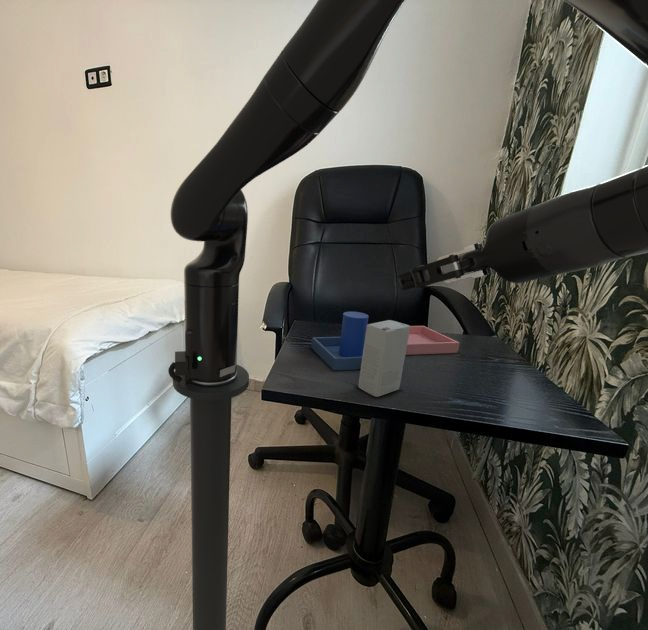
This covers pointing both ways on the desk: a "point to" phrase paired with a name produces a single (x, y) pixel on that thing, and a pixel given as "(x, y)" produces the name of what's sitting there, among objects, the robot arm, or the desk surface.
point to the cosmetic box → (383, 357)
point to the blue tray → (334, 354)
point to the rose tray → (429, 342)
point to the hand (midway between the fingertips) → (422, 276)
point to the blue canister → (353, 334)
